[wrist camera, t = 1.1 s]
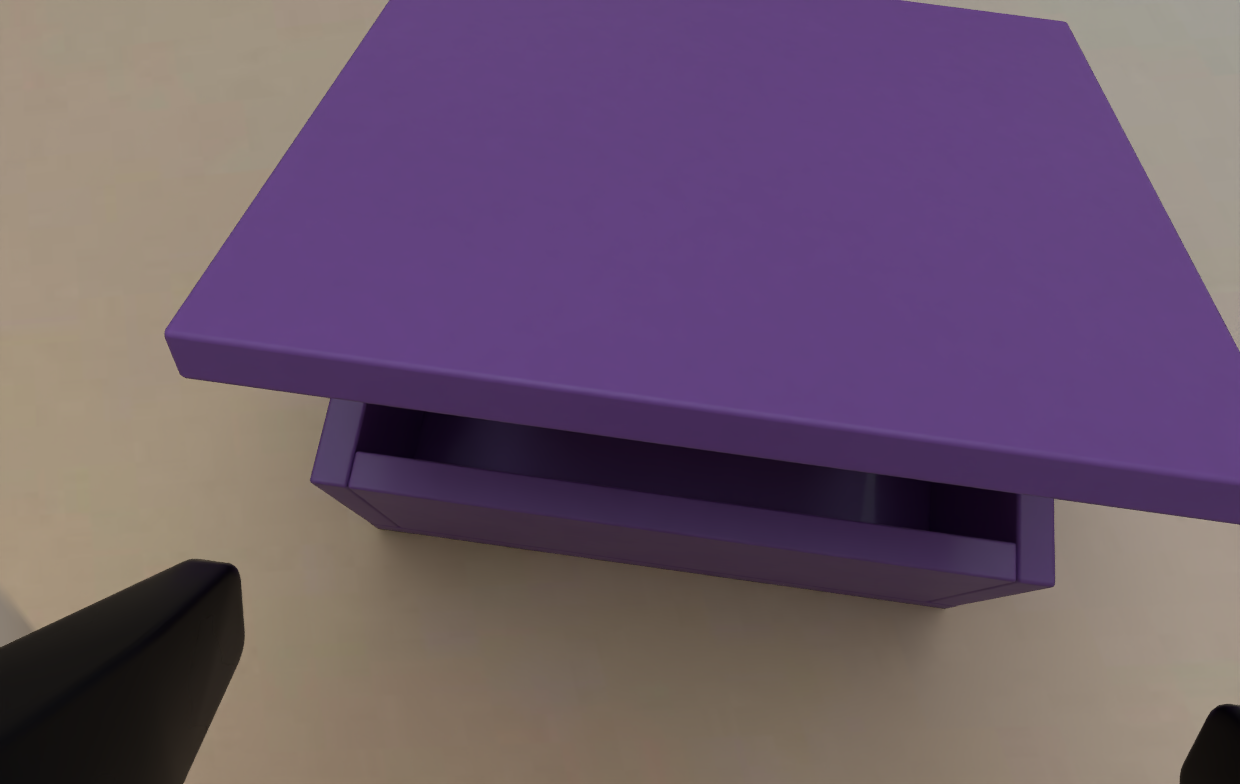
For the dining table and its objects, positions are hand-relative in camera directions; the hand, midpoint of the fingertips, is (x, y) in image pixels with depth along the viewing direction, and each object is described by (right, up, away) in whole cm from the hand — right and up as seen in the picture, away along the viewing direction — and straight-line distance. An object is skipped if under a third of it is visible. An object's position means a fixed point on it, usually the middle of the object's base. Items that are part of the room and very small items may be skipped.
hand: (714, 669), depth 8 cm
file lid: (+1, +6, +7) cm, 9 cm away
